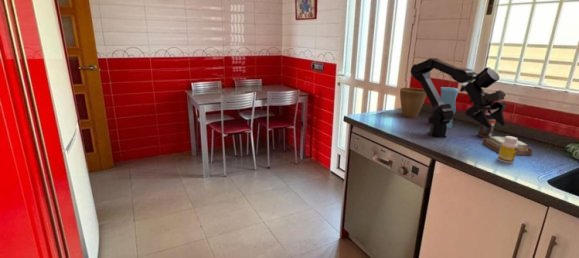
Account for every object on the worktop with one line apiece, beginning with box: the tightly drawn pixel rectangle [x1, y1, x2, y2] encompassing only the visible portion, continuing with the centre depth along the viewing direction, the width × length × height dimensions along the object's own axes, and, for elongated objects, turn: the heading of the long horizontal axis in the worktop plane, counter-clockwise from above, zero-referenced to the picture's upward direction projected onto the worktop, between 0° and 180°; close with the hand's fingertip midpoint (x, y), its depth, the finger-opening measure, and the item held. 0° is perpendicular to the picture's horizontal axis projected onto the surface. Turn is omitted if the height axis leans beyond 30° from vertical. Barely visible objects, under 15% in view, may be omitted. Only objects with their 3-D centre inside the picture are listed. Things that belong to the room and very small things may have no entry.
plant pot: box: [399, 87, 427, 119], centre depth 186 cm, size 15×15×16 cm
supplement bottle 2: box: [497, 135, 518, 164], centre depth 125 cm, size 5×5×10 cm
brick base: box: [482, 136, 533, 156], centre depth 139 cm, size 13×13×4 cm
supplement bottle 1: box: [477, 112, 497, 139], centre depth 154 cm, size 6×6×11 cm
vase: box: [440, 86, 460, 129], centre depth 169 cm, size 8×8×20 cm
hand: (496, 126), depth 128 cm, fingers open, 9 cm apart
